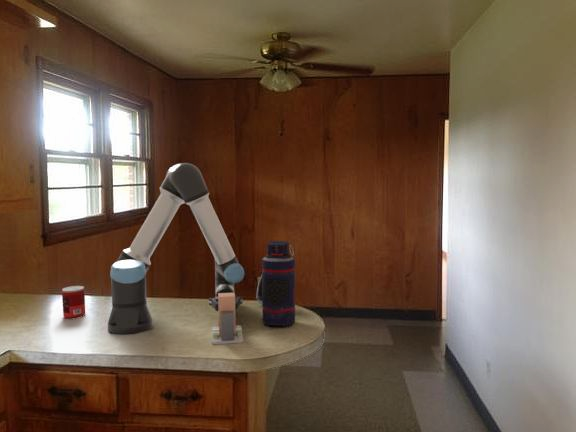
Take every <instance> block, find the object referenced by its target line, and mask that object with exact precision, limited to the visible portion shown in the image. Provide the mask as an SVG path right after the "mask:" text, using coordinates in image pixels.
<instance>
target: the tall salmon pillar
mask: <svg viewBox="0 0 576 432" xmlns="http://www.w3.org/2000/svg"><path fill="white" fill-rule="evenodd" d="M235 296H236V293H218V309H219V311H218V327H219V329H213V332H219V336H221V311H233V313H234V335H236V330H242V329H243V328H242V327H241V328H236V326H237V325H236V323H237V322H236V321H237V320H236V310H235ZM242 331H243V330H242Z"/></svg>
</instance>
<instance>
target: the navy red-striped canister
mask: <svg viewBox="0 0 576 432" xmlns="http://www.w3.org/2000/svg"><path fill="white" fill-rule="evenodd" d="M291 251H292V252H291ZM294 254H295V252H294V248H293V246H292V244H290V242H289V241H283V240H281V241H280V240H271V241H269V242H267V254H265V256H264V257H263V258H261V268H262V269H261V275H262V306H261V307H262V309H261V310H262V322H263V323H264V326H265V327H270V325H271V326H279V327H281V326H283V328H284V329H285V328H289V327H290V325H292V324H293V323H294V322H296V270H295V267H296V258H294V257H293V256H294Z"/></svg>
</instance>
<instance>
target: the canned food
mask: <svg viewBox="0 0 576 432" xmlns="http://www.w3.org/2000/svg"><path fill="white" fill-rule="evenodd" d="M61 290H62V291H61V296H62V297H61V298H62V299H61V300H62V316H63V318H64V319H66V320H74V319H73V318H75V319H79V318H78V317H80V318H82V317H84V316H85V315H86V299H85V298H86V297H85V286H82V285H72V286H66V287H63V288H62V289H61ZM83 315H84V316H83ZM81 316H82V317H81Z"/></svg>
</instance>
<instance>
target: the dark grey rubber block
mask: <svg viewBox="0 0 576 432" xmlns="http://www.w3.org/2000/svg"><path fill="white" fill-rule="evenodd" d="M221 340H222V341H234V313H233V311H221Z"/></svg>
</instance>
